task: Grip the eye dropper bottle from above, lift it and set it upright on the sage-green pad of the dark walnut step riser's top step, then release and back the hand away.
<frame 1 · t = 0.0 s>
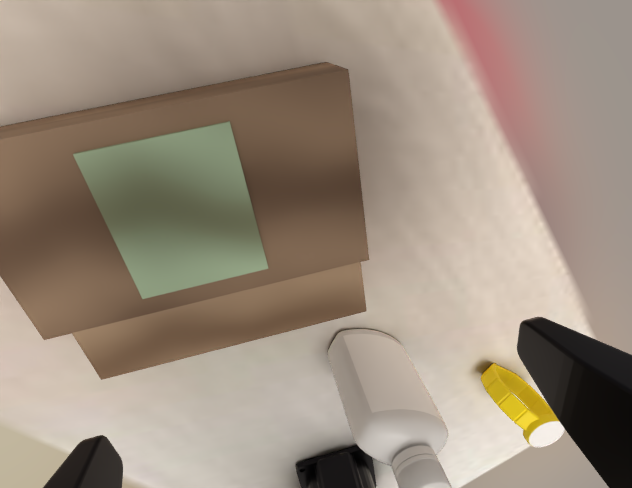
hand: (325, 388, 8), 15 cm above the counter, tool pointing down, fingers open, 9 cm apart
watch: (497, 371, 33), on the counter
step riser: (204, 227, 22), on the counter
eye dropper bottle: (363, 345, 29), on the counter
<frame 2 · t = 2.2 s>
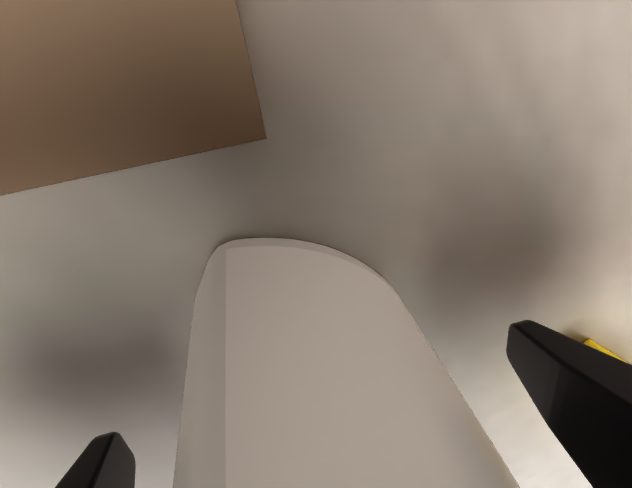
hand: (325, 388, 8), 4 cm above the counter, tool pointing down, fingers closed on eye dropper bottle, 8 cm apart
eye dropper bottle: (297, 287, 12), on the counter, touching gripper
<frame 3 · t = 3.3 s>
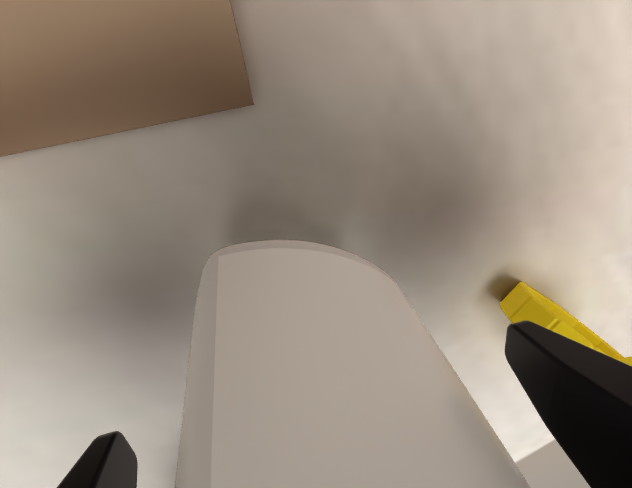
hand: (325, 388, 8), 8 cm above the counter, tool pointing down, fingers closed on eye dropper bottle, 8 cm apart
watch: (526, 300, 20), on the counter
eye dropper bottle: (297, 286, 12), point 4 cm above the counter, touching gripper
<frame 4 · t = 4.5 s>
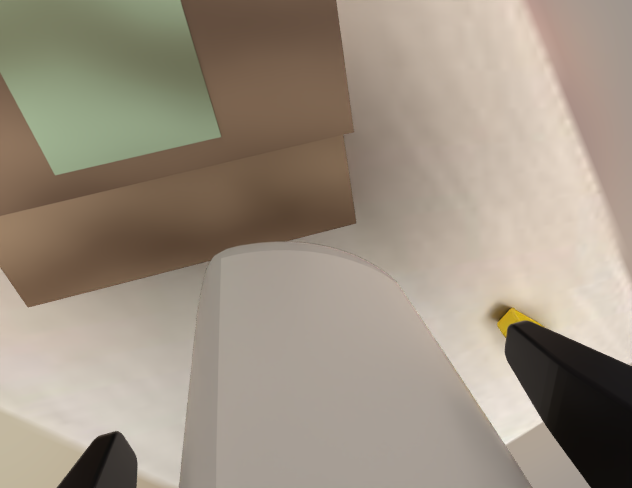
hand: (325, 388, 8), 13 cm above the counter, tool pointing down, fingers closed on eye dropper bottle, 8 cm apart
watch: (516, 319, 28), on the counter
step riser: (149, 109, 17), on the counter
eye dropper bottle: (299, 288, 12), point 10 cm above the counter, touching gripper
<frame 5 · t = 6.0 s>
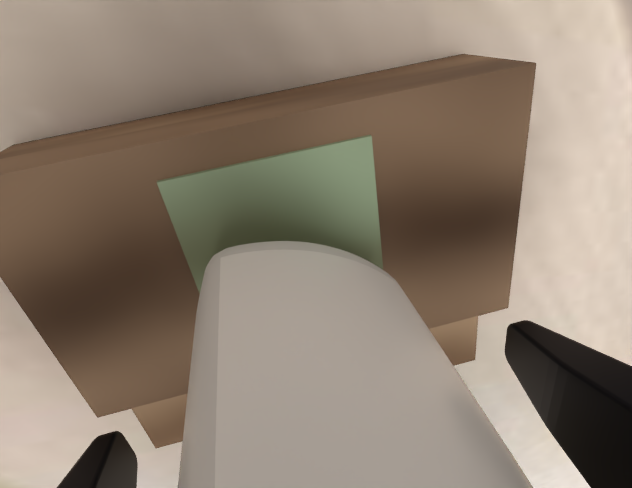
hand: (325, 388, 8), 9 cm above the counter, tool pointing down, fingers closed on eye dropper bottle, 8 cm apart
step riser: (288, 262, 17), on the counter
eye dropper bottle: (299, 287, 12), point 5 cm above the counter, touching gripper
when the fingers open (9 cm above the counter, at t = 7.1 s): eye dropper bottle moves 1 cm, resting on step riser.
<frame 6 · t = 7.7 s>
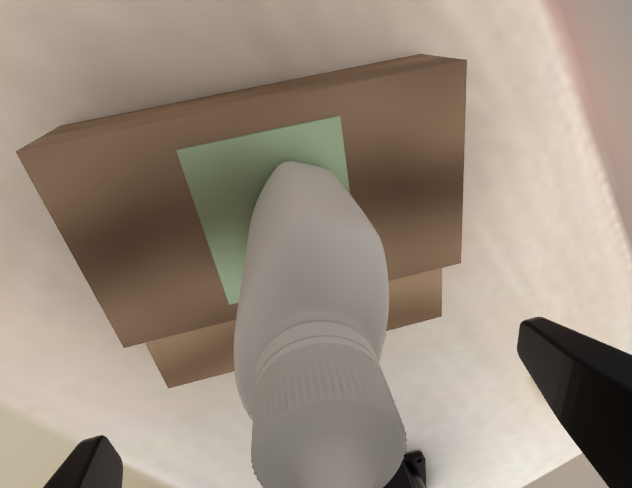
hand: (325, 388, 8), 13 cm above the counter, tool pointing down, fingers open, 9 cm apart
step riser: (280, 228, 21), on the counter
eye dropper bottle: (292, 229, 16), point 4 cm above the counter, touching step riser
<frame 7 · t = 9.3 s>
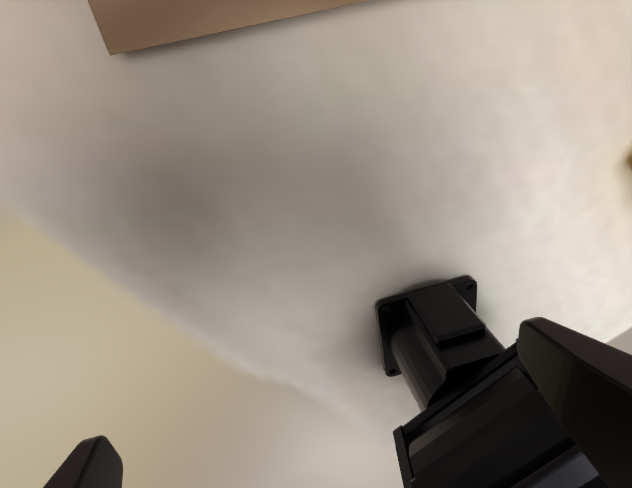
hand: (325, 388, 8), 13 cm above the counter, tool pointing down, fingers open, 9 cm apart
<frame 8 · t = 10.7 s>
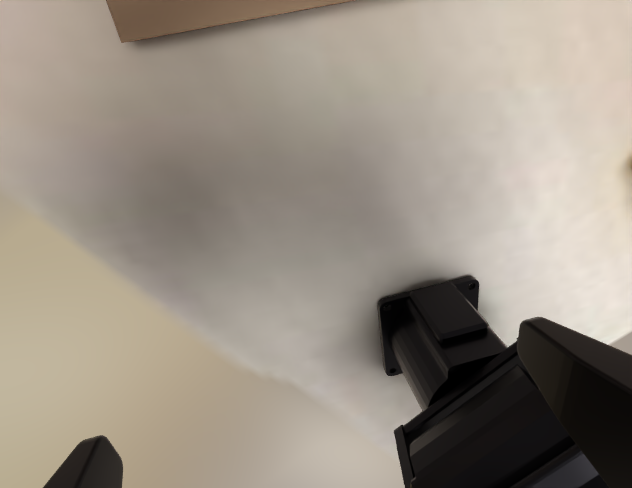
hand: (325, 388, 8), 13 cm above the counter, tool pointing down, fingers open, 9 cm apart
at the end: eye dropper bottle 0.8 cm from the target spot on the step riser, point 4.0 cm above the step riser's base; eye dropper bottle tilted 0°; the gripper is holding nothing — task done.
